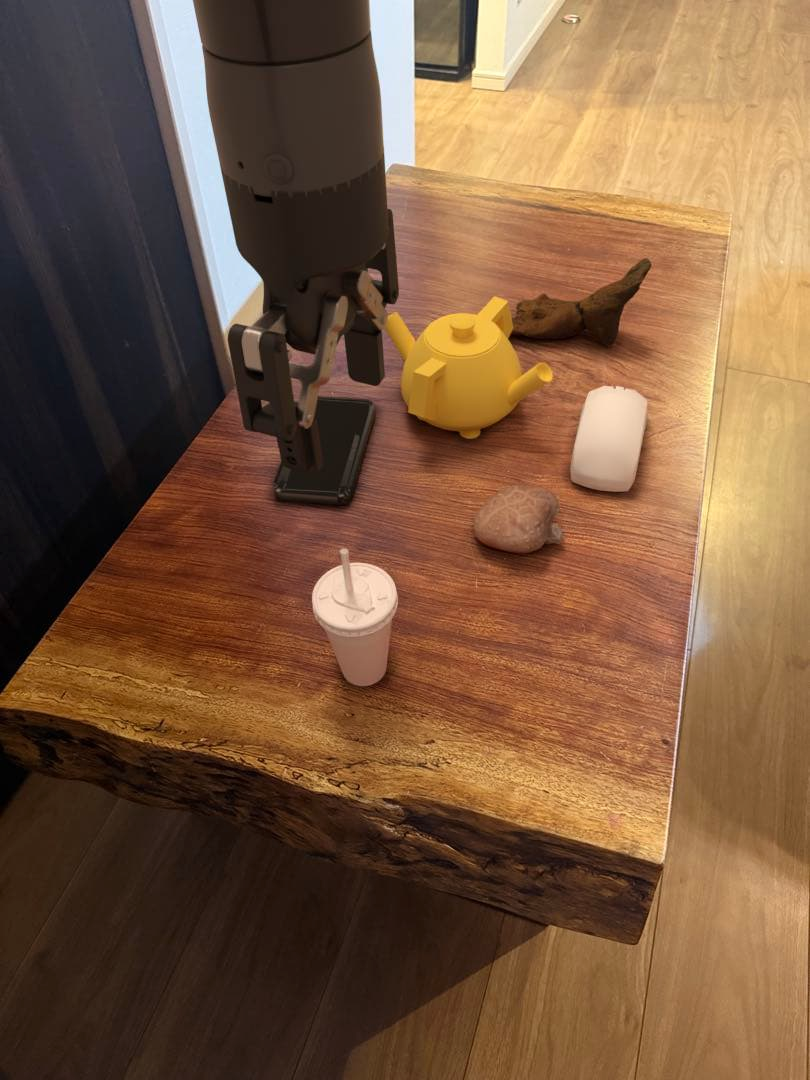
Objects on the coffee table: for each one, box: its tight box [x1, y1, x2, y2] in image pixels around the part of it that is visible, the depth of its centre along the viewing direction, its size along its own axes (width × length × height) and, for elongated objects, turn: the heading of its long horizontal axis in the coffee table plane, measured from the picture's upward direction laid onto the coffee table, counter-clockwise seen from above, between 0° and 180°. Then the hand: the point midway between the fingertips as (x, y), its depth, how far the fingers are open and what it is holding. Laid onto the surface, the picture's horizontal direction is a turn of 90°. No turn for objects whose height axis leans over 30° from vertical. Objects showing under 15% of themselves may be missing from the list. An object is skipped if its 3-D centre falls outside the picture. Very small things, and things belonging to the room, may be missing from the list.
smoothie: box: [311, 548, 399, 687], centre depth 64 cm, size 6×6×14 cm
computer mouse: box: [569, 385, 649, 493], centre depth 83 cm, size 6×13×6 cm, turn 163°
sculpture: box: [510, 257, 652, 347], centre depth 96 cm, size 8×10×15 cm
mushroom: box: [472, 484, 565, 554], centre depth 77 cm, size 8×6×8 cm
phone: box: [272, 395, 376, 506], centre depth 86 cm, size 8×1×15 cm
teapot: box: [383, 295, 554, 440], centre depth 87 cm, size 20×18×11 cm
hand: (337, 422), depth 50 cm, fingers open, 8 cm apart
